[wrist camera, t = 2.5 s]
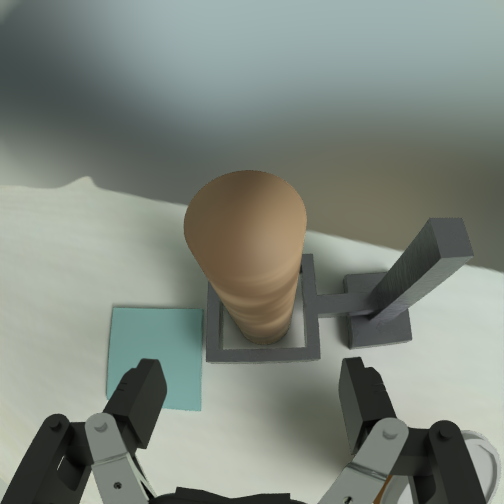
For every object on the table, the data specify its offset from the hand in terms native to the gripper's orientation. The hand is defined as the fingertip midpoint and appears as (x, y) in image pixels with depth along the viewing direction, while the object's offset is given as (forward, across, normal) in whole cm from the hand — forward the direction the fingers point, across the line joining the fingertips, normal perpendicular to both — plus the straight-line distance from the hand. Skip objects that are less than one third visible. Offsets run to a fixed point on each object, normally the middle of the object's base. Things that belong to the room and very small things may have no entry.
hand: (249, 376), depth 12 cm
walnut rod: (+15, 0, +6) cm, 16 cm away
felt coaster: (+12, +11, +9) cm, 19 cm away
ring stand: (+15, -5, +6) cm, 17 cm away
